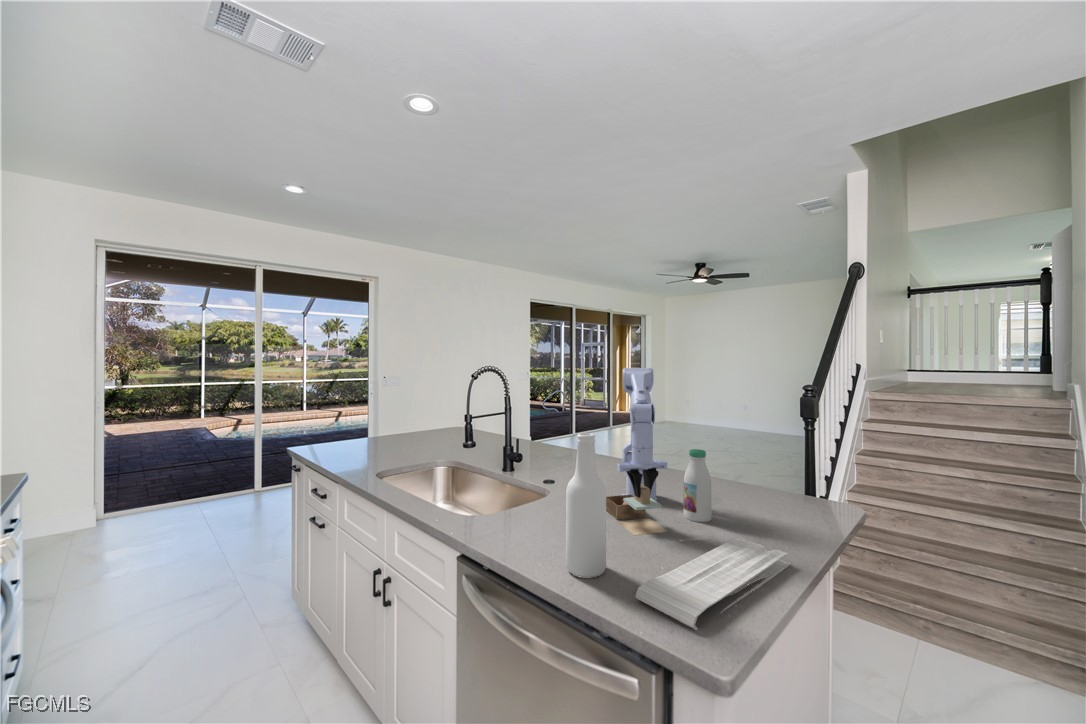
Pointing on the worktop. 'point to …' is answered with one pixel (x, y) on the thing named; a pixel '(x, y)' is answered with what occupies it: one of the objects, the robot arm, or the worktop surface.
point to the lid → (642, 500)
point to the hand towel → (711, 579)
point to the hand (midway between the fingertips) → (642, 496)
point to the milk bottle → (697, 488)
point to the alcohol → (586, 514)
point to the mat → (642, 526)
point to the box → (622, 508)
